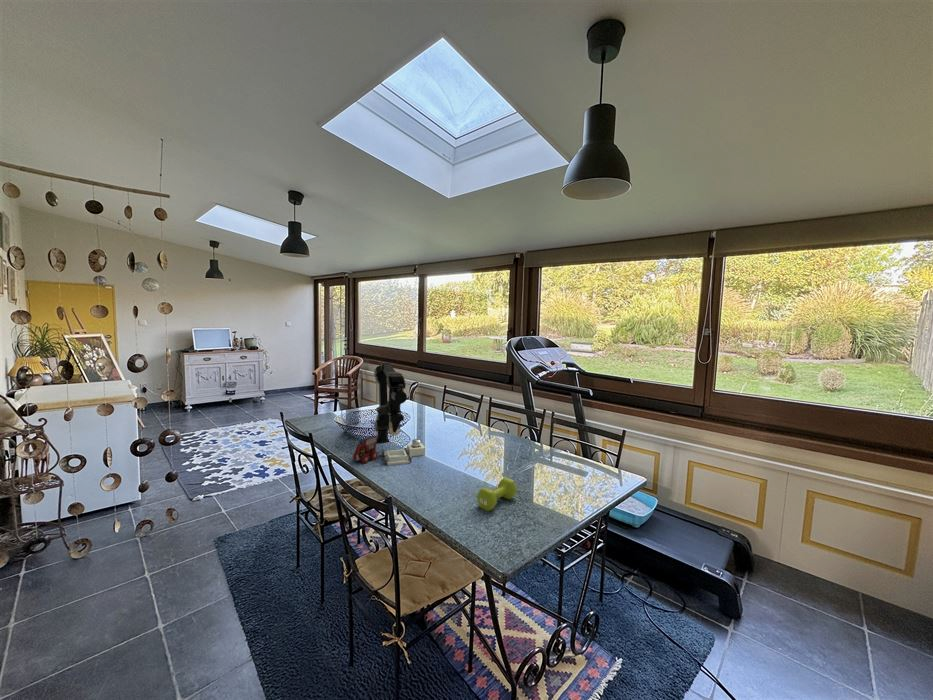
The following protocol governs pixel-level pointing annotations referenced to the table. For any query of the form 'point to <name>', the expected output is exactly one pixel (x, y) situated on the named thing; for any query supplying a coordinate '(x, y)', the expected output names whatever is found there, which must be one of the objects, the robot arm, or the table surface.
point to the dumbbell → (496, 494)
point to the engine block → (392, 429)
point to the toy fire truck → (366, 450)
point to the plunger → (415, 443)
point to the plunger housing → (416, 450)
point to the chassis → (396, 457)
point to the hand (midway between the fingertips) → (393, 431)
